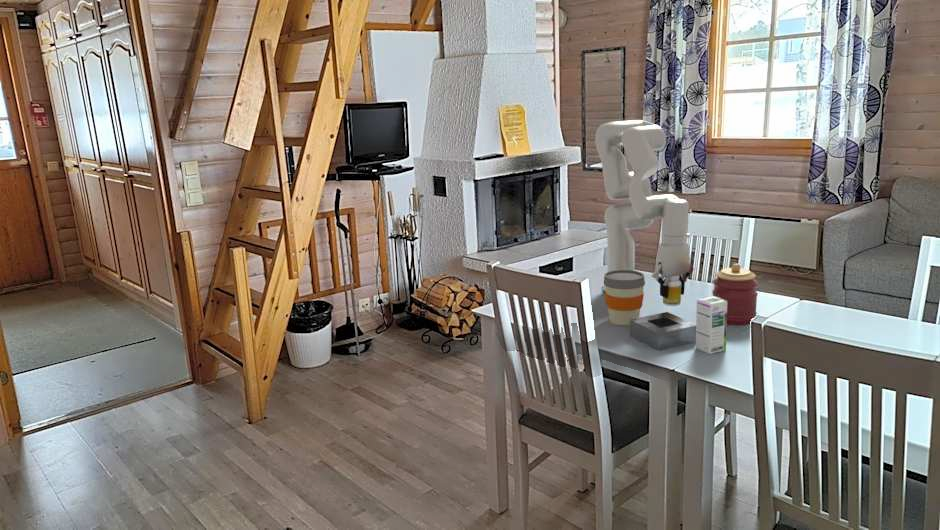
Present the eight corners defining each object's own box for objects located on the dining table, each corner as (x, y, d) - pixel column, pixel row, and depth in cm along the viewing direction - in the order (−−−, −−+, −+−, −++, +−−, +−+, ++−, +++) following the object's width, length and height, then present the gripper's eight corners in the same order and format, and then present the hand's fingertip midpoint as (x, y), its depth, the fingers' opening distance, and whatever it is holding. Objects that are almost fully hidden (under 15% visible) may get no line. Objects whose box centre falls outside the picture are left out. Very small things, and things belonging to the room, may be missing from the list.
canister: (705, 321, 205) (707, 266, 200) (718, 309, 215) (720, 256, 210) (749, 328, 197) (752, 271, 192) (761, 315, 207) (764, 261, 202)
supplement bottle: (681, 306, 206) (682, 277, 204) (663, 306, 207) (664, 276, 205) (679, 300, 211) (680, 271, 209) (662, 300, 212) (663, 271, 210)
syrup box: (710, 354, 180) (712, 304, 176) (694, 347, 185) (696, 298, 181) (726, 350, 182) (728, 300, 178) (710, 343, 187) (712, 294, 183)
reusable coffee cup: (650, 317, 211) (650, 272, 207) (636, 329, 201) (636, 282, 197) (613, 312, 218) (613, 268, 214) (597, 323, 208) (597, 277, 204)
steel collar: (629, 335, 197) (629, 319, 195) (666, 327, 201) (667, 311, 200) (658, 350, 185) (658, 333, 183) (696, 341, 189) (697, 325, 188)
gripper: (688, 233, 210) (686, 287, 215) (643, 240, 204) (642, 296, 209) (705, 238, 203) (702, 294, 208) (659, 245, 197) (656, 303, 202)
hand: (672, 294), depth 209 cm, fingers closed on supplement bottle, 5 cm apart
